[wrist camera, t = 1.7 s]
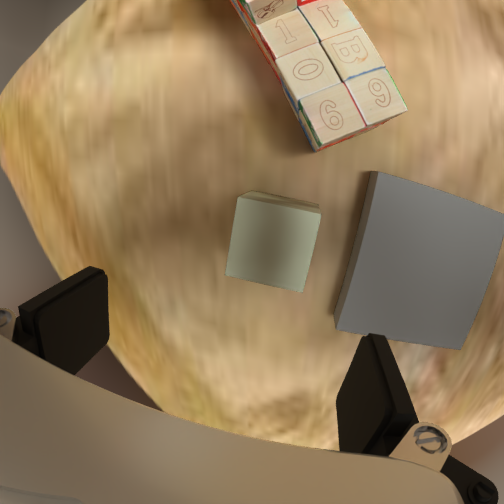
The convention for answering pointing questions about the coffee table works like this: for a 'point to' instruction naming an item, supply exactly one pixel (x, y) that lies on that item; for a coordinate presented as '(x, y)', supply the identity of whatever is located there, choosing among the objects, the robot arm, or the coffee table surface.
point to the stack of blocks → (323, 66)
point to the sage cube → (273, 240)
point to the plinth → (418, 264)
